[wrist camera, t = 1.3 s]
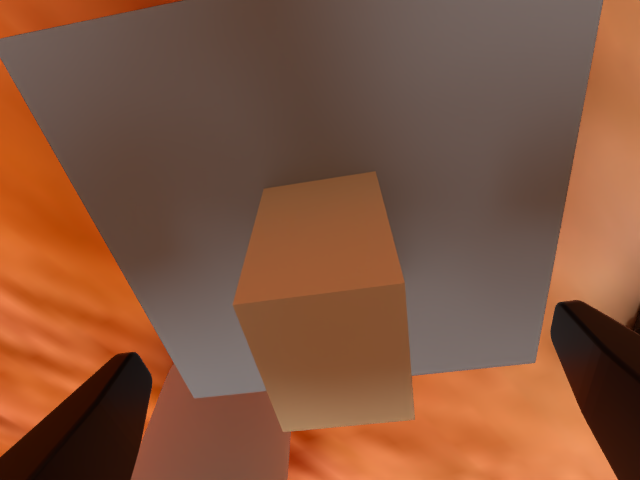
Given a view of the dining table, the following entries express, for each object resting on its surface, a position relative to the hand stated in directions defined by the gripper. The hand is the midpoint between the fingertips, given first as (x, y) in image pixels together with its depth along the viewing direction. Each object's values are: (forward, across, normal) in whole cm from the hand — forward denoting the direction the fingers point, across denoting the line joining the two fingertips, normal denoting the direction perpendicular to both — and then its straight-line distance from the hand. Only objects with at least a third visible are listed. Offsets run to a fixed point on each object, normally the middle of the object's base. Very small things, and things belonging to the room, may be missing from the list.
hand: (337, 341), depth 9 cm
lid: (+5, 0, 0) cm, 5 cm away
